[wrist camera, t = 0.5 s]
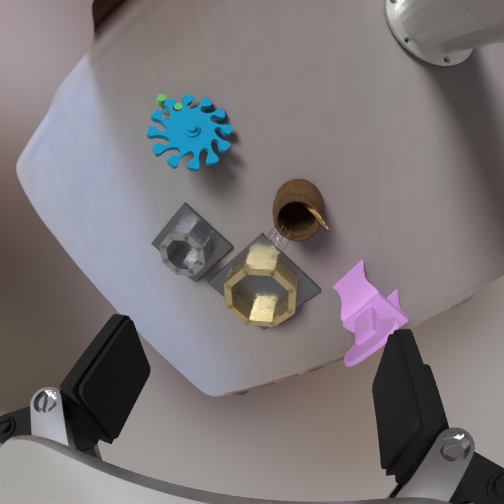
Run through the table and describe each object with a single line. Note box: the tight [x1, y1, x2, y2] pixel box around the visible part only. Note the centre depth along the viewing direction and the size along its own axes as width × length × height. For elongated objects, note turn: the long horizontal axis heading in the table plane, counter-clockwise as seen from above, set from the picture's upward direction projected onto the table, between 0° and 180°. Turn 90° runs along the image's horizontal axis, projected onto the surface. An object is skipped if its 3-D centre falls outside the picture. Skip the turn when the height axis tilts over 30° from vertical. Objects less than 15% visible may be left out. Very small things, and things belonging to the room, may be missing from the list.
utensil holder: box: [268, 179, 329, 250], centre depth 33 cm, size 6×6×12 cm
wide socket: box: [208, 233, 320, 329], centre depth 43 cm, size 12×12×4 cm
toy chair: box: [333, 259, 409, 367], centre depth 36 cm, size 8×9×15 cm
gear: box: [147, 94, 232, 171], centre depth 34 cm, size 11×6×10 cm
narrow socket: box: [151, 202, 233, 282], centre depth 42 cm, size 9×9×4 cm
